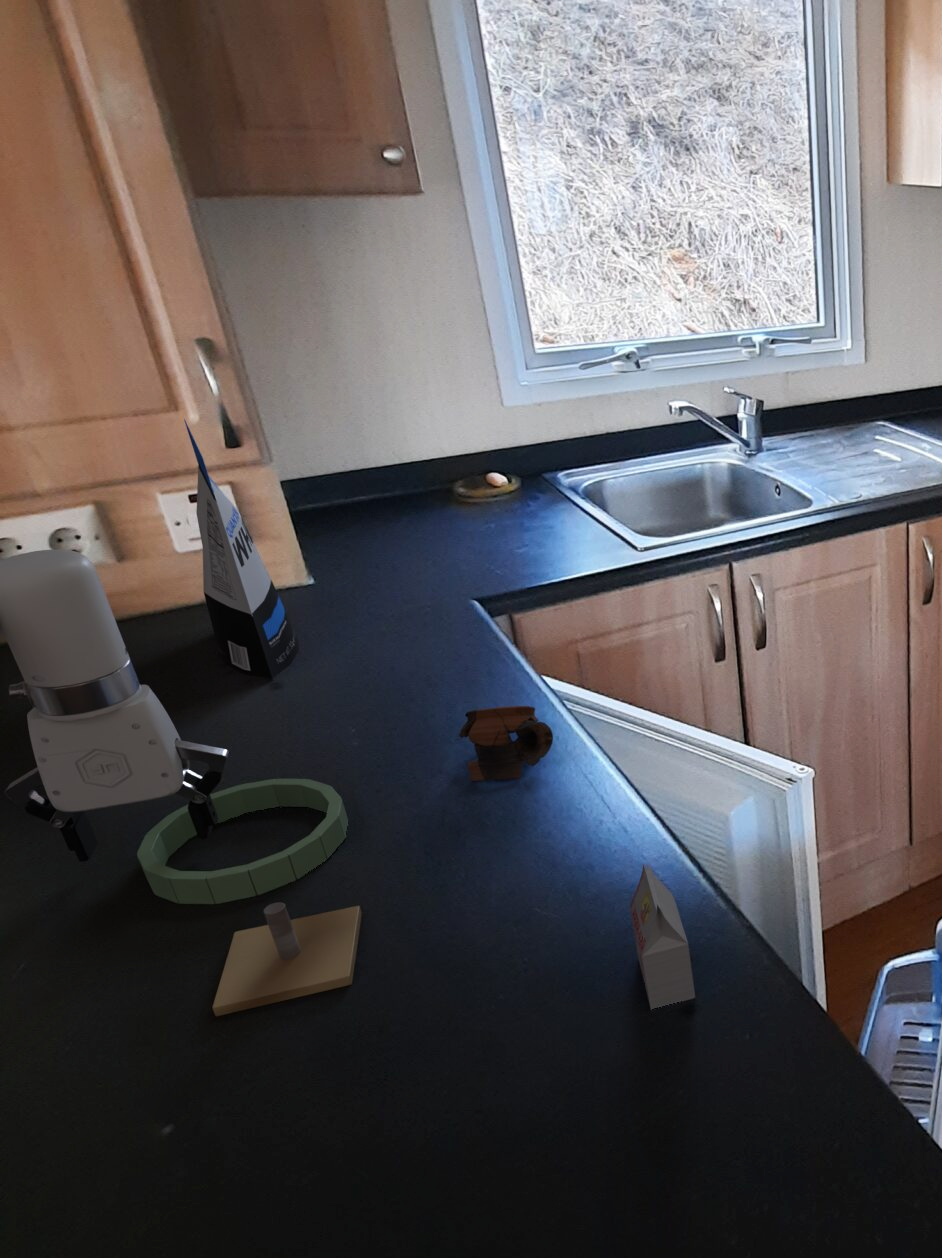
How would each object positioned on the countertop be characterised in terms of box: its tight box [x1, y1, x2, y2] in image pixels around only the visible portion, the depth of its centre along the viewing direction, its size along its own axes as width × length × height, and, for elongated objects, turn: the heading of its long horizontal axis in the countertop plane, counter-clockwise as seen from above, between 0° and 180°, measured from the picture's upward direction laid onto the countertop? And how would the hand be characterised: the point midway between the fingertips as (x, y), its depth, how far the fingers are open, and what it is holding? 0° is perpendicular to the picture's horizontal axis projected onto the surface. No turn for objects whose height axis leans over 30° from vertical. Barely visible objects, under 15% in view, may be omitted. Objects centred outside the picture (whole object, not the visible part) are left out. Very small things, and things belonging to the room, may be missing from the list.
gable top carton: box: [629, 862, 696, 1011], centre depth 89 cm, size 4×7×10 cm, turn 24°
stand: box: [211, 901, 363, 1017], centre depth 91 cm, size 10×10×6 cm
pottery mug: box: [458, 705, 554, 782], centre depth 121 cm, size 12×10×8 cm
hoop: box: [136, 778, 349, 905], centre depth 106 cm, size 17×17×3 cm
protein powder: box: [183, 418, 300, 681], centre depth 141 cm, size 10×24×30 cm, turn 38°
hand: (149, 842), depth 102 cm, fingers open, 9 cm apart
